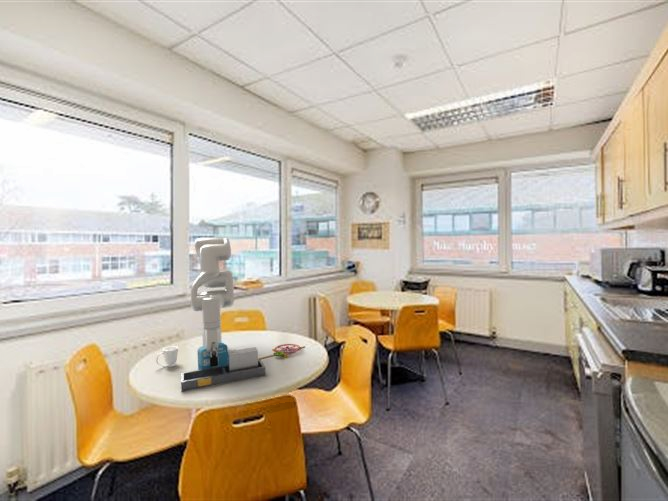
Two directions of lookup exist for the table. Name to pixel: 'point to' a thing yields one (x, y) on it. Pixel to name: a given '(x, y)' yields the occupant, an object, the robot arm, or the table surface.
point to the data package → (205, 356)
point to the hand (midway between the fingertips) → (213, 362)
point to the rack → (226, 371)
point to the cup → (169, 356)
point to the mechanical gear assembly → (284, 350)
